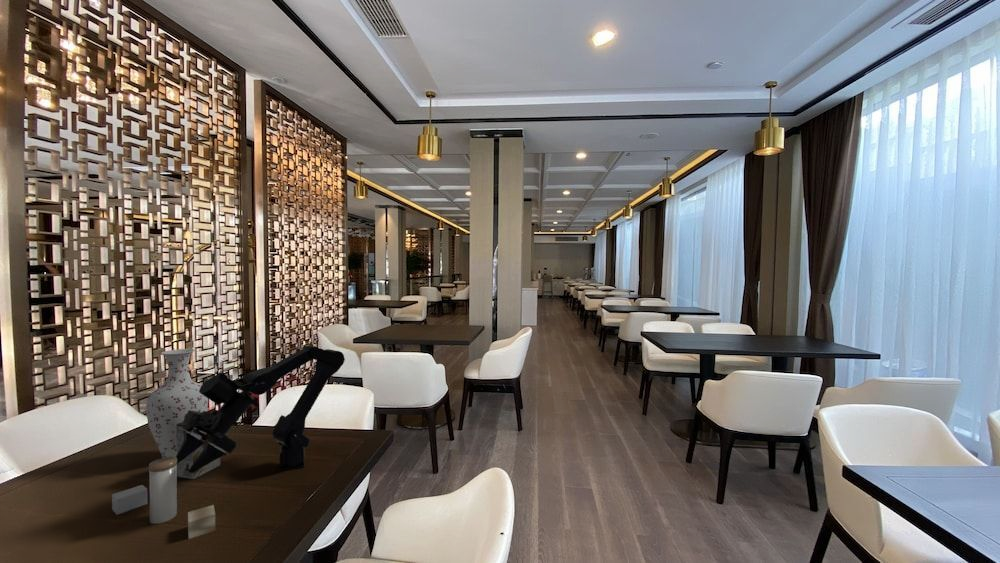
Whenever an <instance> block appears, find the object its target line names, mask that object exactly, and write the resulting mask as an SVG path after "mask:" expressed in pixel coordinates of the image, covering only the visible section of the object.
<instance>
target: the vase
mask: <svg viewBox="0 0 1000 563" xmlns="http://www.w3.org/2000/svg"><path fill="white" fill-rule="evenodd" d="M195 350H196V349H194V348H183V349H182V348H179V349H178V348H177V349H171V350H166V351H162V352H160V355H162V356H164V357H165V359H166V362H167V367H168V369H167V370H168V373H167V376H166V379H165V381H164V383H163V384H162V385H161V386H159V387H158V388H156V389H155V390H153V391H152V392H151V394H150V395H149V396H148V397H147V400H146V406H145V409H146V410H145V411H146V418H147V425H148V427H149V429H150V433H151V434H152V437H153V439H154V441H155V444H156V445H157V448H158V450H159V452H160V454H161V458H165V457H176V455H177V425H176V424H179V423H182V422H183V421H184V419H185V417H186V415H187V413H188V411H189V410H191V411H198V412H203V411H206V412H208V405H209V399H208V398H207V397H205V396H204V395H202V394H201V393H200V392H199V390H200V388H201V386H202V385H203V384H200V383H198V382H196V381H194V380H193V379H192V378H191V374H190V373H189V361H190V357H191V355H192V353H194V352H195Z"/></svg>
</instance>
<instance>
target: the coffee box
mask: <svg viewBox="0 0 1000 563" xmlns="http://www.w3.org/2000/svg"><path fill="white" fill-rule="evenodd" d="M186 424H187V423H183V422H182V423H179V424H176V425H177V454H178V452H179V450H180V448H181V446H182V444H183V441H184V434H183V431H185V432H186V430H185V429H183V427H184V426H185V425H186ZM200 440H201V441H203V442H204V440H202V439H200ZM205 442H206V443H208V444H211V443H210V442H209V441H207V440H205ZM203 446H204V444H203V445H202V446H200V447H199V448H198V449H196V450H195V451H194V452H192V453H191V454H190V455H189V456H187V457H186V458H185V459H183V460H182V461H180V462H179V463H177V478H178V477H179V478H182V479H183V478H184V479H191V480H196V479H197V478H198V477H201V476H203V475H204V474H207V473H208V472H210V471H212V470H214V469H216V468H218V467H220V466H221V464H222V463H221V458H222V457H220V458H218V459H216V460H214V461H212V462H210V463H209V464H207V465H205V466H204V467H202V468H200V469H199V470H197V471H195V472H194V473H190V472H189V469H190V468H191V466H192V465H193V463H194V462H195V460H196V459H197V458H198V456H199V455H200V454H201V452H202V451H203Z"/></svg>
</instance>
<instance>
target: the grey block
mask: <svg viewBox="0 0 1000 563" xmlns="http://www.w3.org/2000/svg"><path fill="white" fill-rule="evenodd" d="M145 505H148V488H147V487H146V486H144V485H143V484H141V485H137V486H134V487H131V488H129V489H126V490H122V491H120V492H116V493H112V494H111V510H112V511H113V512H114V513H115V515H121V514H123V513H126V512H128V511H131V510H134V509H137V508H140V507H143V506H145Z"/></svg>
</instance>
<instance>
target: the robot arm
mask: <svg viewBox="0 0 1000 563" xmlns="http://www.w3.org/2000/svg"><path fill="white" fill-rule="evenodd" d="M311 360H315V361H316V362H315V372H314V373H313V375H312V377H311V378H310V380H309V381H308V384H307V385H306V387H305V388H304V390H303V391H302V394H301V395H300V396H299V398H298V400H297V402H296V403H295V405H294V406H293V408H292V410H291V411H290V413H288V414H287V415H285V416H284V415H280V417H278V418H279V419H278V420H277V422H276V423H275V424H274V425H273V430H272V438H273V439H274V441H276V442H277V444H278V445H279V446H281V447H282V448H281V450H280V451H279V467H281V468H280V471H282V472H283V471H288V470H295V469H301V468H304V467H305V463H306V462H305V461H306V460H305V459H306V458H305V448H307V447H308V446H309V443H310V439H309V437H306V436H305V435H304V431H305V427H306V420H307V419H306V418H307V417H308V414H310V411H311V410H312V408H313V406H314V405H315V403H316V401H317V400H318V397H319V396H320V395H321V392H322V391H323V389H324V388H325V385H326V384H327V382H328V381H329V379H330V378H331V377H332V376H333V375H334V374H336V373H337V372H338V371H339V370H340V368H341V367H342V366H343V365H344V363H345V361H346V359H345V354H344V353H343V352H342V351H340V350H335V349H328V348H326V349H323V348H320V347H318V346H315V345H311V344H310V345H305V346H304V347H302V348H301V349H299V350H297V351H296V352H294V353H292V354H291V355H289V356H287V357H285V358H283V359H281V360H280V361H278V362H275V363H274V364H272V365H270V366H268V367H264V368H263V367H262V368H259V369H256V370H253V371H250V372H248V373H246V374H245V375H244V376H243V377H241V378H237V379H234V380H232V379H230V378H229V377H228V376H227V374H225V373H224V372H221V371H220V372H218V373H217V374H216V375H214V376H211V377H210V378H209V379H208V380H205V381H204V382H203V383H202V384H201V385H202V386H201V388H200V390H199V392H200V393H201V394H202V395H204V396H205V397H207V398H208V400H210V401H212V403H214V404H216V405H221V404H222V405H221V406H220V407H219V409H212V410H211V411H207V412H206V411H203V412H198V411H191V410H189V411H188V413H187V415H186V417H185V419H184V421H183V423H187V424H186V425H185V426H184V427H183V429H185V430H186V432H185V431H183V434H184V441H183V444H182V446H181V448H180V450H179V452H178V454H177V455H176V458H177V463H179V462H180V461H182V460H183V459H185V458H186V457H187V456H189V455H190V454H191V453H192V452H194V451H195V450H196V449H198V448H199V447H200V446H202V445H203V444H204V446H203V451H202V452H201V454H200V455H199V456H198V458H197V459H196V460H195V462H194V463H193V465H192V466H191V468H190V469H189V472H190V473H194V472H195V471H197V470H199V469H200V468H202V467H204V466H205V465H207V464H209V463H210V462H212V461H214V460H216V459H218V458H220V457H221V458H222V457H223V456H227V453H228V454H230V455H231V454H232V453H233V452H234V450H236V448H237V442H236V441H234V440H232V439H231V438H229V437H228V436H227V435H226V434H227V433H228V432H229V431H230V430H231V429H232V427H233V426H234V427H237V426H238V425H239V424H240V422H238V421H239V419H240V418H241V417H242V416H243V415H244V413H246V411H247V410H248V409H249V407H251V406H252V407H255V408H259V406H260V405H259V397H257V396H260V395H261V396H262V395H264V394H266V393H267V392H268V391H270V389H272V388H273V387H274V386H275V385H276V384H277V382H278V381H279V380H280V379H282V378H283V377H284V376H286V375H288V374H289V373H292V372H293V371H295V370H296V369H298V368H300V367H302V366H303V365H306V364H307V363H308V362H310V361H311ZM239 390H240V391H242V392H239ZM248 393H250V394H253V395H257V396H251V395H249V394H248ZM200 439H202V440H204V442H203V441H201V440H200ZM205 440H207V441H209V442H210V443H211V444H208V443H206V442H205Z"/></svg>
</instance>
